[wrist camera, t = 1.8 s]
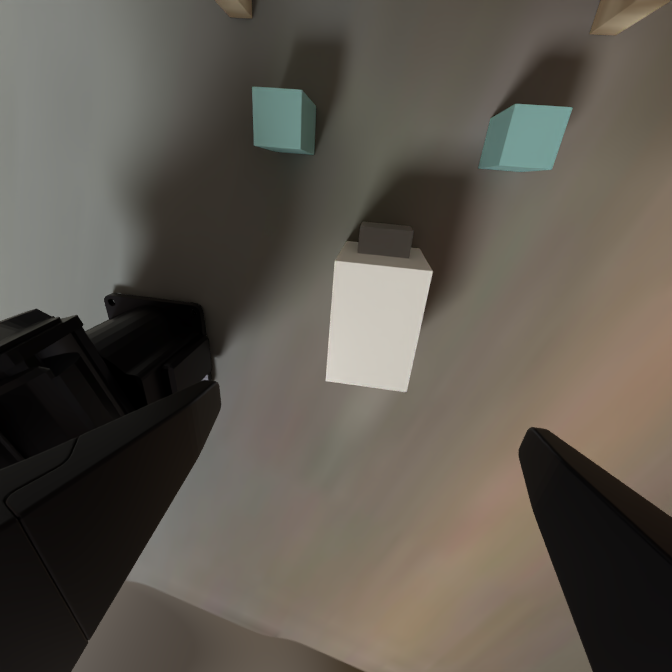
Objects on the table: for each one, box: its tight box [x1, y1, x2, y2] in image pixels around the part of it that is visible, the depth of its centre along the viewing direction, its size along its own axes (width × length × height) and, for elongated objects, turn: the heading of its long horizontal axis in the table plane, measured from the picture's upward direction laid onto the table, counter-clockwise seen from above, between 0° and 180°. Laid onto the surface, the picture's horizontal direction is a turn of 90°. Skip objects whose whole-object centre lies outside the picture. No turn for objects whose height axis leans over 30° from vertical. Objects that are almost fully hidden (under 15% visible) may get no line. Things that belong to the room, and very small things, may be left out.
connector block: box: [326, 221, 433, 392], centre depth 16 cm, size 4×7×5 cm, turn 176°
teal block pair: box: [252, 87, 573, 172], centre depth 14 cm, size 12×2×3 cm, turn 86°
